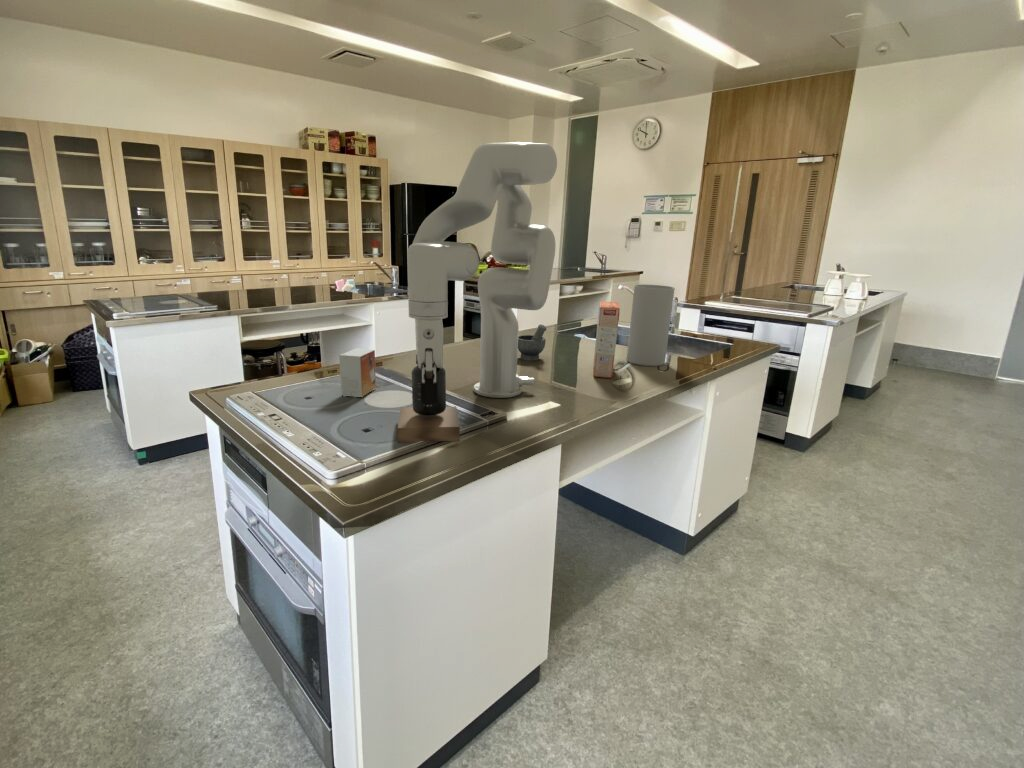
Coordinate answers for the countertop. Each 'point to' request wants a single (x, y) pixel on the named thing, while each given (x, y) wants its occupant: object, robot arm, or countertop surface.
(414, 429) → the walnut base
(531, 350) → the mortar and pestle
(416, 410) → the supplement bottle
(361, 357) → the small box
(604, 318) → the cracker box
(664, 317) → the cylinder vase
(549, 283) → the robot arm
